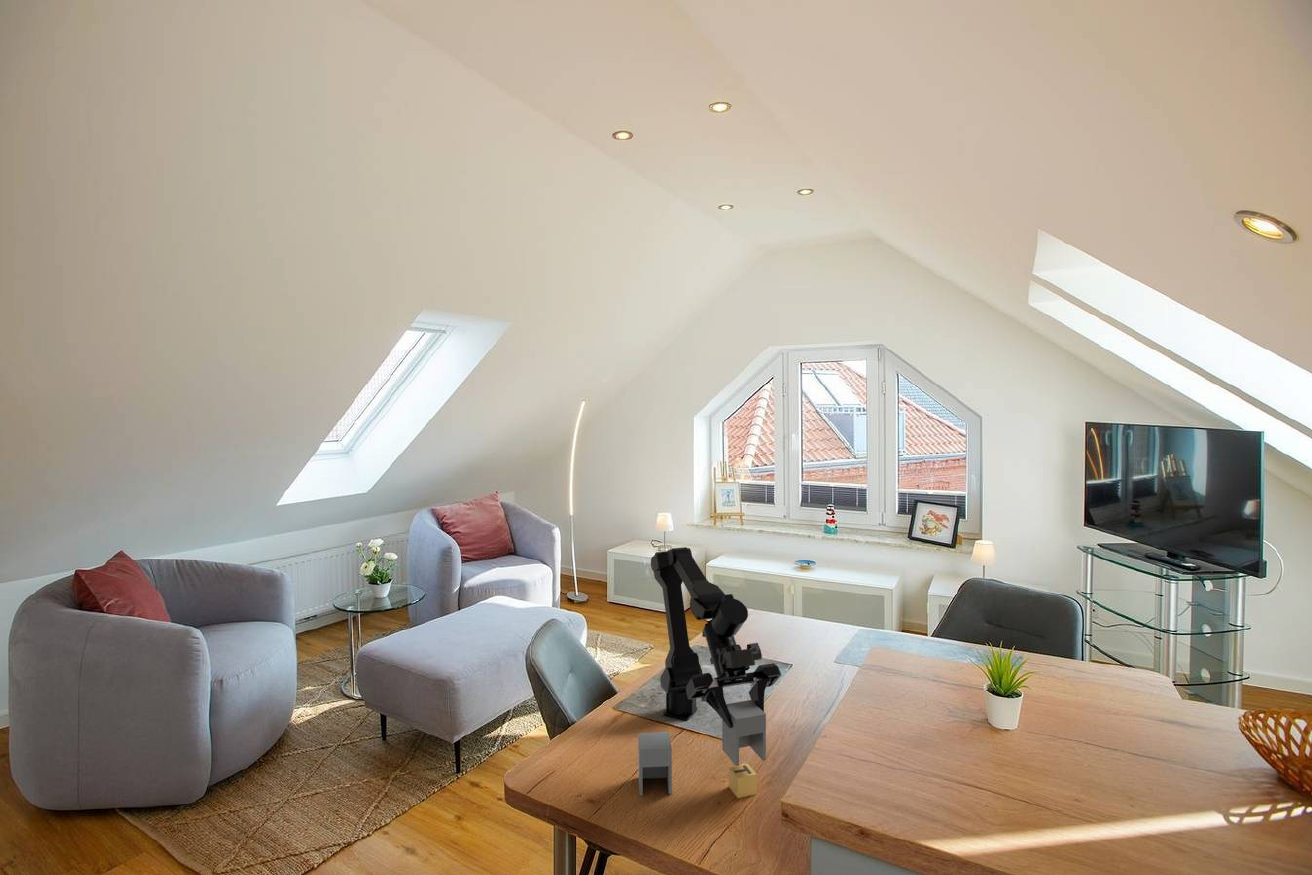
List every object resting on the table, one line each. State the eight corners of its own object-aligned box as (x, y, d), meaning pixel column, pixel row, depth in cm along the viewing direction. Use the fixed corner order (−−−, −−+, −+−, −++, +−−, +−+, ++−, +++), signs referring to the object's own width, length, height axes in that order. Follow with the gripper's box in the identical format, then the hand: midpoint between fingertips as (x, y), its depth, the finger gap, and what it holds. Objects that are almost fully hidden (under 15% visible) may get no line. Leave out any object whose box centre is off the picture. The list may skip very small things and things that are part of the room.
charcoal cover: (722, 749, 127) (722, 704, 127) (750, 743, 129) (750, 699, 129) (736, 766, 121) (736, 719, 121) (765, 760, 123) (765, 713, 123)
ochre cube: (728, 786, 126) (728, 766, 126) (747, 782, 128) (747, 762, 128) (737, 798, 123) (737, 777, 122) (756, 794, 124) (756, 773, 124)
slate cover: (638, 776, 130) (638, 733, 129) (669, 775, 130) (668, 731, 130) (639, 795, 124) (639, 749, 123) (671, 794, 124) (671, 748, 124)
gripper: (690, 634, 125) (714, 717, 115) (777, 624, 131) (806, 701, 121) (676, 659, 133) (697, 738, 123) (758, 648, 138) (784, 722, 129)
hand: (747, 724), depth 123 cm, fingers closed on charcoal cover, 6 cm apart
